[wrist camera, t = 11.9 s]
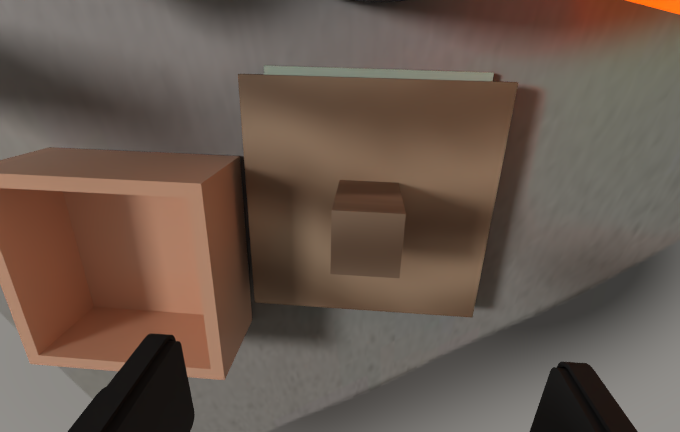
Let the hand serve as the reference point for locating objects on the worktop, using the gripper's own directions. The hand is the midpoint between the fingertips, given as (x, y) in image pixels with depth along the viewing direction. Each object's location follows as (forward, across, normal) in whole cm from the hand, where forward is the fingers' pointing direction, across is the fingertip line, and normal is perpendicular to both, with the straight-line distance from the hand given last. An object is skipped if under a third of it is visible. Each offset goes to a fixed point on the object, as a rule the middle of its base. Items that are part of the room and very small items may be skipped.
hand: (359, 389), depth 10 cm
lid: (+16, 0, +1) cm, 16 cm away
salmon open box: (+16, +15, +5) cm, 22 cm away
